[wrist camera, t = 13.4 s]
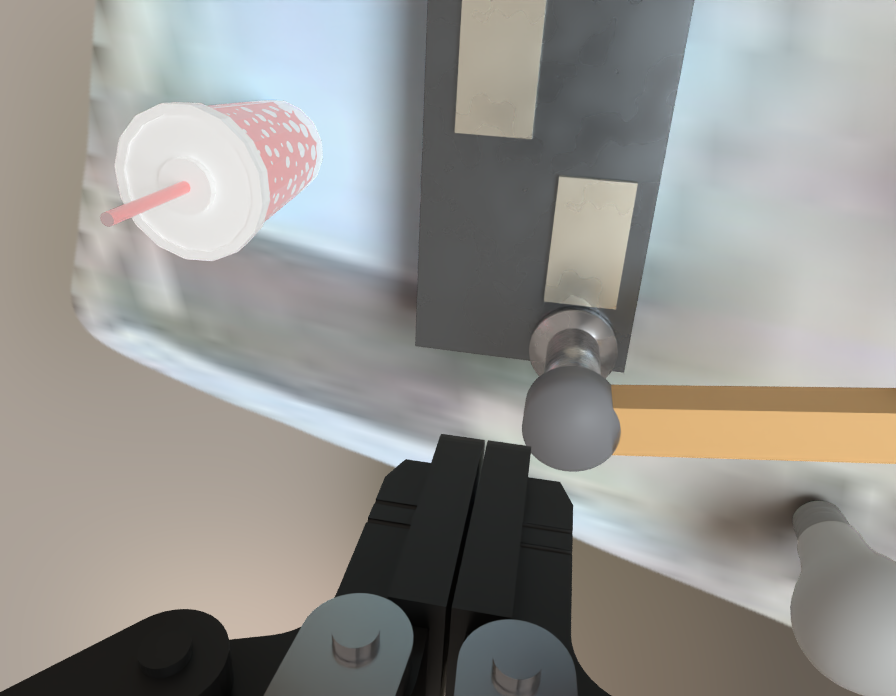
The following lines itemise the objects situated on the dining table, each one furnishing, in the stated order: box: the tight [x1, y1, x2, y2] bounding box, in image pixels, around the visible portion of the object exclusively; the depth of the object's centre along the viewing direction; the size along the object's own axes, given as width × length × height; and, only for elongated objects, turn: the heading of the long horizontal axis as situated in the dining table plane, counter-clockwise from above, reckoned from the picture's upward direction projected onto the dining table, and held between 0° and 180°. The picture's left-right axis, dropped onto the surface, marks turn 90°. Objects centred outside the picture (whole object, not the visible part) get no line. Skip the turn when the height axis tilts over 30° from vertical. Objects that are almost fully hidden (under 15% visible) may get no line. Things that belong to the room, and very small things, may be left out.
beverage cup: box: [100, 100, 323, 261], centre depth 28 cm, size 6×6×14 cm
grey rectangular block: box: [415, 0, 694, 378], centre depth 28 cm, size 19×10×9 cm, turn 177°
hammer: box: [522, 366, 896, 471], centre depth 25 cm, size 15×4×2 cm, turn 95°
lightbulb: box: [790, 501, 896, 696], centre depth 33 cm, size 6×6×11 cm
